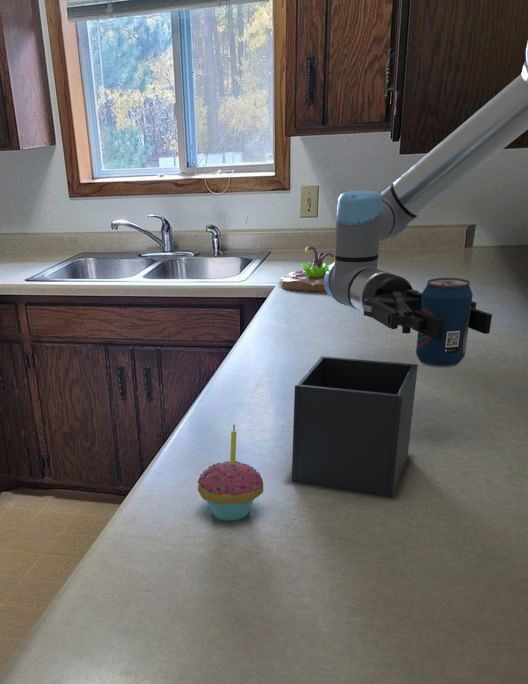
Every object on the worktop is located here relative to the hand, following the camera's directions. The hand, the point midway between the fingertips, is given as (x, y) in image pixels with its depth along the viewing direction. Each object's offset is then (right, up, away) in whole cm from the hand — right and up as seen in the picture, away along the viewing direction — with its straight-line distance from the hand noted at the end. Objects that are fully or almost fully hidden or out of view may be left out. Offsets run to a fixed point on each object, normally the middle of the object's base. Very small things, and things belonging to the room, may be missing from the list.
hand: (464, 327), depth 104 cm
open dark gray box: (-15, -20, +3) cm, 26 cm away
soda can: (-1, -4, +7) cm, 8 cm away
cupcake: (-34, -26, -6) cm, 43 cm away
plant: (+2, +37, +119) cm, 124 cm away
